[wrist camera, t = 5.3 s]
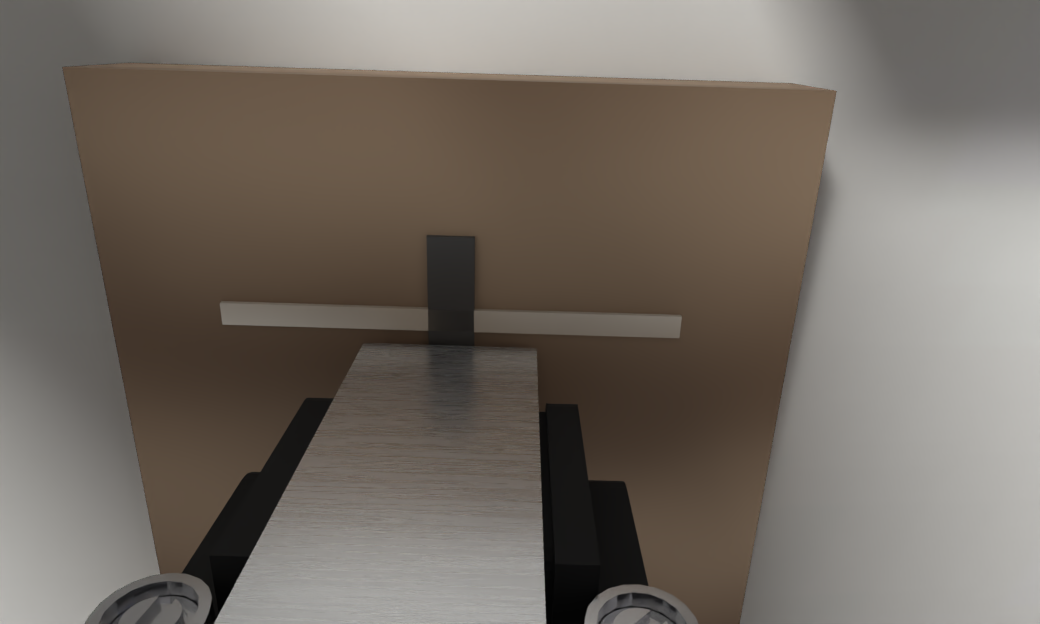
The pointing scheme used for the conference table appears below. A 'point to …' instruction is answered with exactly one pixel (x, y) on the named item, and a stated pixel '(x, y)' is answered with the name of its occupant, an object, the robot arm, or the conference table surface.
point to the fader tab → (410, 499)
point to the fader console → (458, 269)
